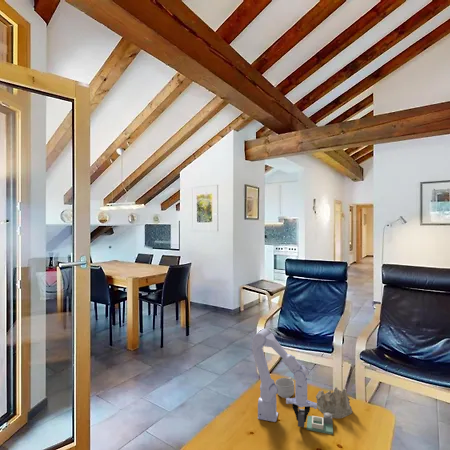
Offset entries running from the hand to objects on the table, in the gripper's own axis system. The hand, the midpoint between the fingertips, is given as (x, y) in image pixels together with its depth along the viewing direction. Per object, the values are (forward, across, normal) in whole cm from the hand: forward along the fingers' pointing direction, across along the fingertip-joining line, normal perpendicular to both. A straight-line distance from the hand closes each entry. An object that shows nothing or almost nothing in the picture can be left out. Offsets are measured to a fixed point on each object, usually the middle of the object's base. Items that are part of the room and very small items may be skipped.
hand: (301, 420), depth 153 cm
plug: (+2, 0, 0) cm, 2 cm away
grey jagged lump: (+4, +16, +21) cm, 26 cm away
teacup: (+4, -10, +28) cm, 30 cm away
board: (+3, +9, +4) cm, 10 cm away
